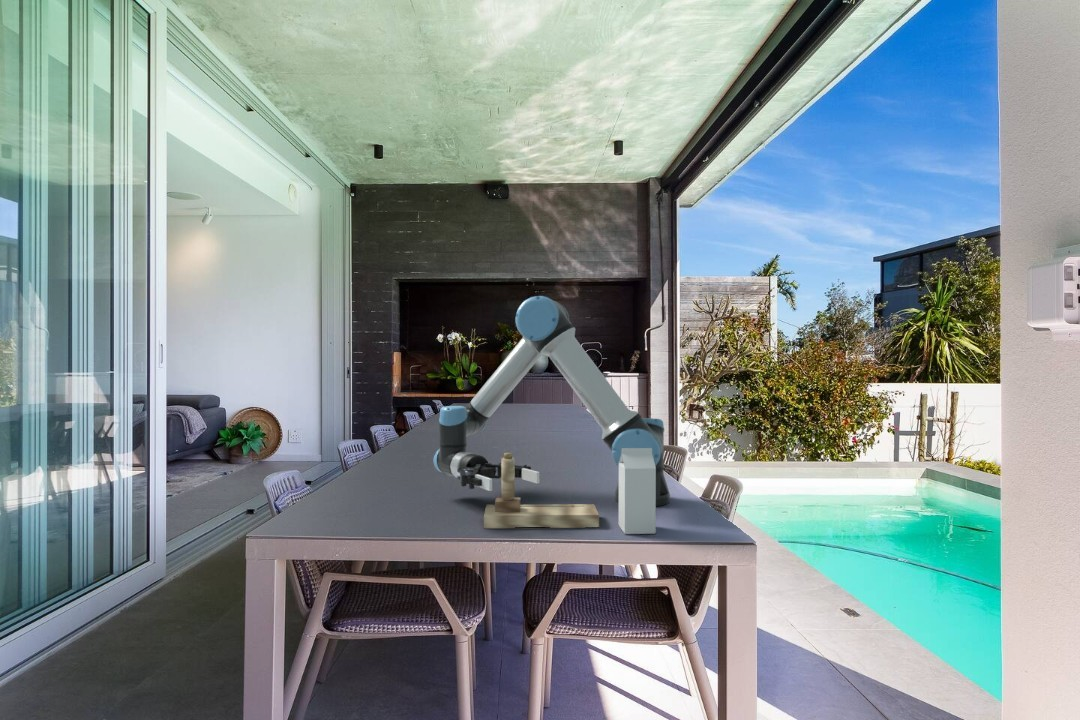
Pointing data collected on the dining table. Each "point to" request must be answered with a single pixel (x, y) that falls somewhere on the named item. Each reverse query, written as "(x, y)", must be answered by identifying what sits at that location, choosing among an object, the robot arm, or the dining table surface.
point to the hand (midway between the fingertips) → (515, 481)
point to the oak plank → (544, 516)
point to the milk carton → (637, 491)
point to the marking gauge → (507, 486)
